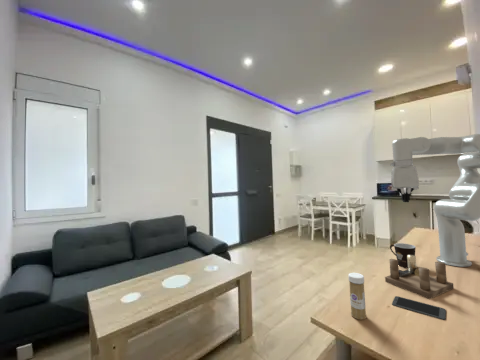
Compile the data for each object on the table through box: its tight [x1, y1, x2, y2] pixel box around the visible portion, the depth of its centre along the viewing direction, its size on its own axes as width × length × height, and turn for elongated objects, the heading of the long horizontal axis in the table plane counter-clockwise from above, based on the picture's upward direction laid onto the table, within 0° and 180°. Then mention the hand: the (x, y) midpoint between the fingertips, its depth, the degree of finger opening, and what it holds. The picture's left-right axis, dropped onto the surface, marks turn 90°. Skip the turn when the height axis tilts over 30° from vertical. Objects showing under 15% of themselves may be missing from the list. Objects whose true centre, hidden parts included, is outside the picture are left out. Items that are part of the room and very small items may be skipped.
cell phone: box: [391, 296, 447, 321], centre depth 74 cm, size 7×14×1 cm, turn 46°
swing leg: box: [399, 255, 418, 277], centre depth 95 cm, size 10×3×7 cm, turn 108°
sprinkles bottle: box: [347, 272, 367, 320], centre depth 72 cm, size 5×5×13 cm
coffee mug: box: [389, 242, 417, 269], centre depth 110 cm, size 12×9×10 cm
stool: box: [384, 258, 454, 300], centre depth 89 cm, size 16×16×10 cm
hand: (405, 201), depth 106 cm, fingers closed
